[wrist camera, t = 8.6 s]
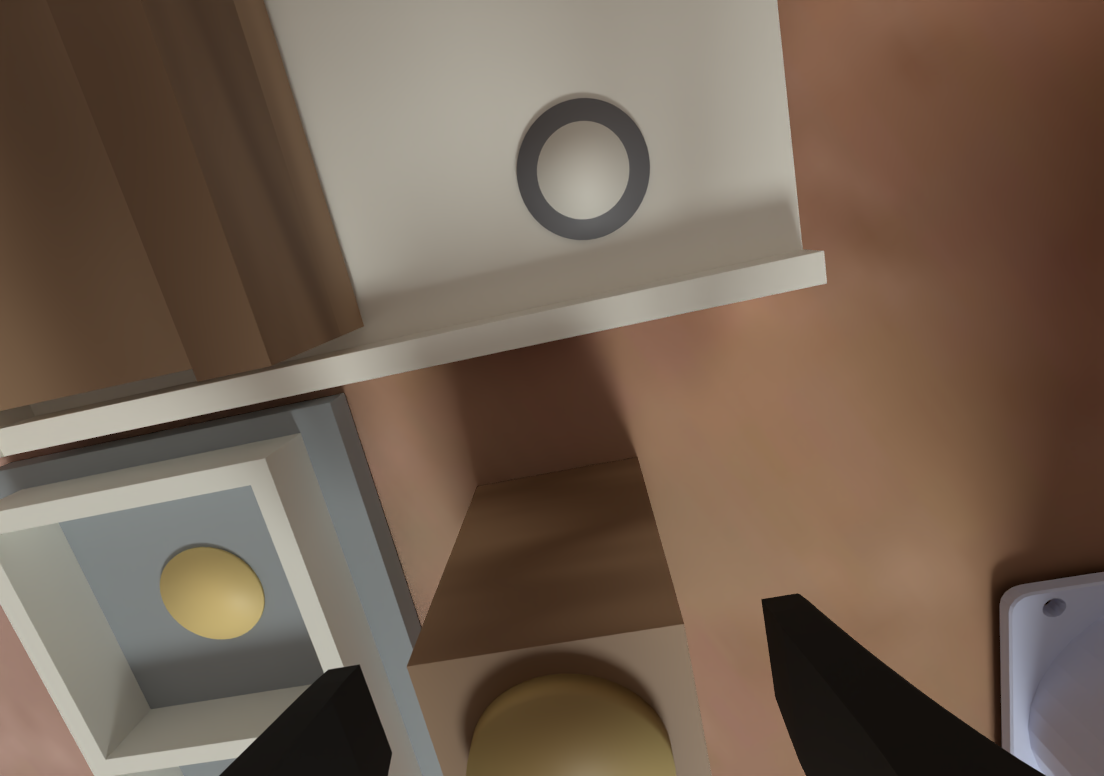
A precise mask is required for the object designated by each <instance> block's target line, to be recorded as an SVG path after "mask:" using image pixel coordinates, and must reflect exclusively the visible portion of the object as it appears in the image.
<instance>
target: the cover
mask: <svg viewBox="0 0 1104 776" xmlns="http://www.w3.org/2000/svg"><path fill="white" fill-rule="evenodd" d="M361 327H364V324H363V321H362V317H361V314H360V311H359V308H358V305H357V301H356V298H355V295H354V292H353V288H352V285H351V282H350V279H349V275H348V272H347V269H346V266H345V262H344V259H343V256H342V253H341V249H340V246H339V243H338V240H337V236H336V233H335V230H334V227H333V224H332V220H331V217H330V214H329V211H328V207H327V204H326V201H325V198H324V194H323V191H322V188H321V185H320V181H319V178H318V175H317V172H316V168H315V165H314V162H313V159H312V155H311V152H310V149H309V146H308V143H307V139H306V136H305V133H304V130H303V126H302V123H301V120H300V117H299V113H298V110H297V107H296V104H295V100H294V97H293V94H292V91H291V87H290V84H289V81H288V78H287V74H286V71H285V68H284V65H283V62H282V58H281V55H280V52H279V49H278V45H277V42H276V39H275V36H274V32H273V29H272V26H271V23H270V19H269V16H268V13H267V10H266V6H265V3H264V0H0V411H3V410H7V409H12V408H16V407H21V406H25V405H30V404H35V403H39V402H44V401H48V400H53V399H57V398H62V397H66V396H71V395H76V394H80V393H85V392H89V391H94V390H98V389H103V388H107V387H112V386H117V385H121V384H126V383H130V382H135V381H139V380H144V379H148V378H153V377H158V376H162V375H167V374H171V373H176V372H180V371H185V370H189V369H192V370H193V372H194V375H195V377H196V380H197V382H200V381H204V380H209V379H214V378H218V377H223V376H227V375H232V374H237V373H241V372H246V371H250V370H255V369H260V368H264V367H269V366H273V365H275V364H277V363H280V362H282V361H284V360H287V359H289V358H291V357H294V356H296V355H298V354H301V353H303V352H305V351H308V350H310V349H312V348H315V347H317V346H319V345H322V344H324V343H326V342H329V341H331V340H333V339H336V338H338V337H340V336H343V335H345V334H347V333H350V332H352V331H354V330H357V329H359V328H361Z"/></svg>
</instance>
